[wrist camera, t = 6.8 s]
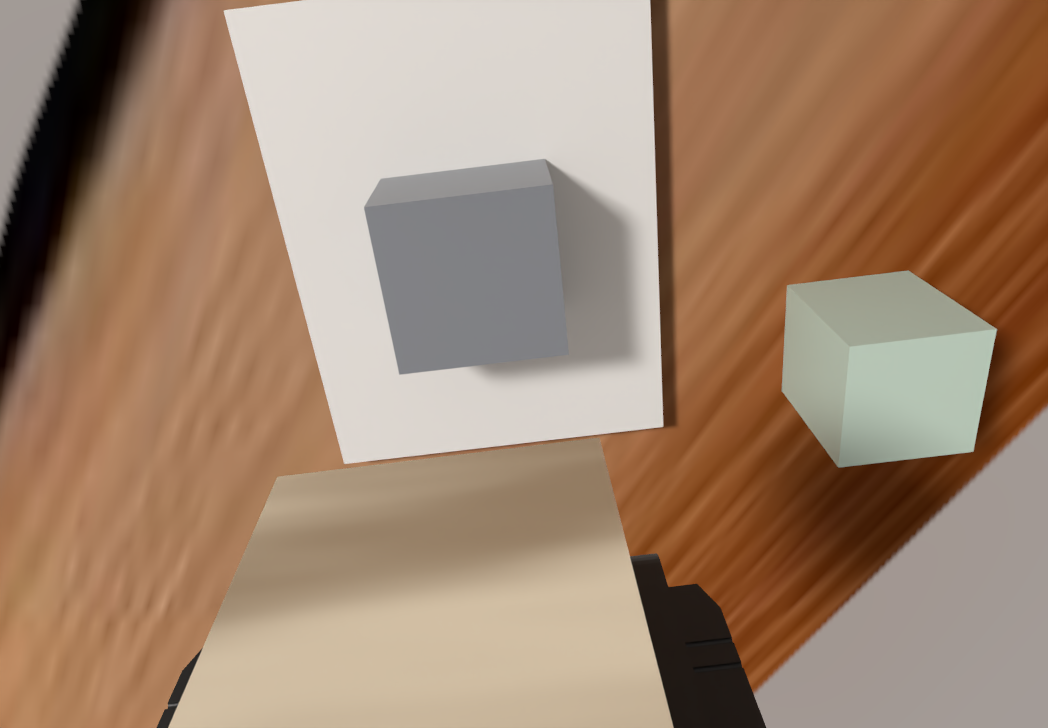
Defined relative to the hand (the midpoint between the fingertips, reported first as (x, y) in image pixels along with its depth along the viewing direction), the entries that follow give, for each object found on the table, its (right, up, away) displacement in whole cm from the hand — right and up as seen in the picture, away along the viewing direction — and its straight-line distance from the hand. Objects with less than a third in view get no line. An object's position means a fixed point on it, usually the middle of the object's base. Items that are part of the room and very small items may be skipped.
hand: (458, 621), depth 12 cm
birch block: (0, 0, +1) cm, 1 cm away
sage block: (+15, +5, +20) cm, 25 cm away
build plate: (-1, +9, +17) cm, 20 cm away
